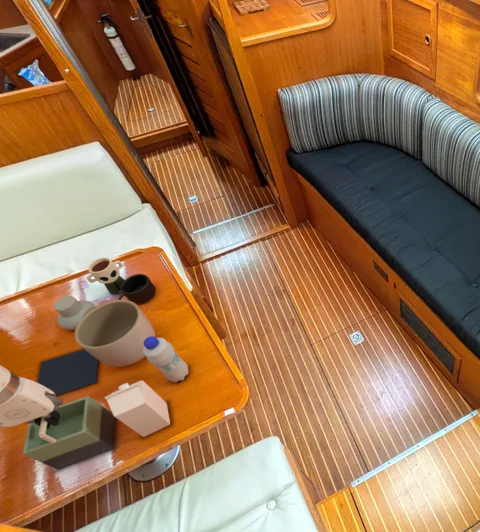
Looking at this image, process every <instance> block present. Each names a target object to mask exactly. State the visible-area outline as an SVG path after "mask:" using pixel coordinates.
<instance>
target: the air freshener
mask: <svg viewBox="0 0 480 532" xmlns="http://www.w3.org/2000/svg"><path fill="white" fill-rule="evenodd" d="M96 307H97V306H96V305H95V303H93V302H91V301H88V300H78V299H77V298H76V297H74V296H73V295H65V296H62V297H61V298H59V299H57V300H56V302H55V303H54V305H53V309H54V310H55V311H56V312H57V313H58V315H57V318H56V323H57V325H58V326H59V327H60V328H61V329H63V330H67V331H75V330H76V327H77V325H78V323H79V322H80V320H81V319H82V318H83V317H84V316H85V315H86V314H87V313H88V312H90V311H91V310H92V309H94V308H96Z"/></svg>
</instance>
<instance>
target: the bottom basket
mask: <svg viewBox="0 0 480 532" xmlns="http://www.w3.org/2000/svg"><path fill="white" fill-rule="evenodd" d="M115 421H116V417H114V415H113V413H112V411H111V410H109V409H107V408H106V407H105V406H103V405H102V418H101V432H100V441H98V442H95V443H93V444H90V445H87V446H85V447H82V448H79V449H76V450H74V451H71V452H68V453H66V454H63V455H60V456H57V457H55V458H52V459H49V460H46V461H44V462H40V463H41V464H44V465H46V466H48V467H51V468H53V469H54V470H61V469H64V468H66V467H69V466H72V465H74V464H77V463H80V462H82V461H86V460H88V459H90V458H93V457H96V456H98V455H101V454H104V453H107V452H109V451H112V450H114V445H115V444H114V443H115V426H116V425H115V424H116V423H115Z"/></svg>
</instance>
